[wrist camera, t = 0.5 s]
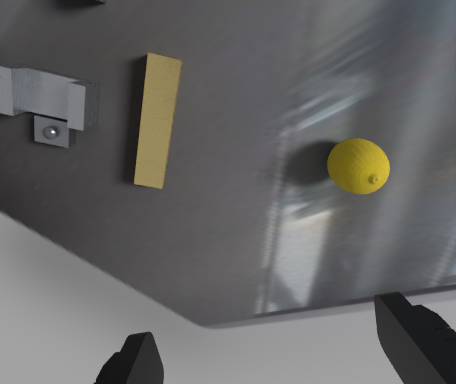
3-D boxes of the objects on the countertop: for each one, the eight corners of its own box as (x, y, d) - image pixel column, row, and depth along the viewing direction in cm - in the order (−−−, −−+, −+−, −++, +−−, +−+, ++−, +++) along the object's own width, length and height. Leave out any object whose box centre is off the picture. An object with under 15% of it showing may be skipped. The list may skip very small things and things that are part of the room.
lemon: (367, 165, 35) (409, 193, 28) (323, 183, 36) (354, 214, 29) (357, 123, 33) (401, 141, 26) (311, 142, 34) (341, 166, 26)
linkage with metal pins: (22, 132, 31) (-3, 142, 27) (13, -125, 23) (-23, -159, 19) (95, 147, 32) (81, 158, 28) (112, -92, 24) (95, -118, 20)
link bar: (139, 173, 34) (133, 183, 31) (153, 53, 29) (147, 52, 26) (165, 178, 34) (162, 188, 32) (183, 60, 29) (181, 60, 27)
